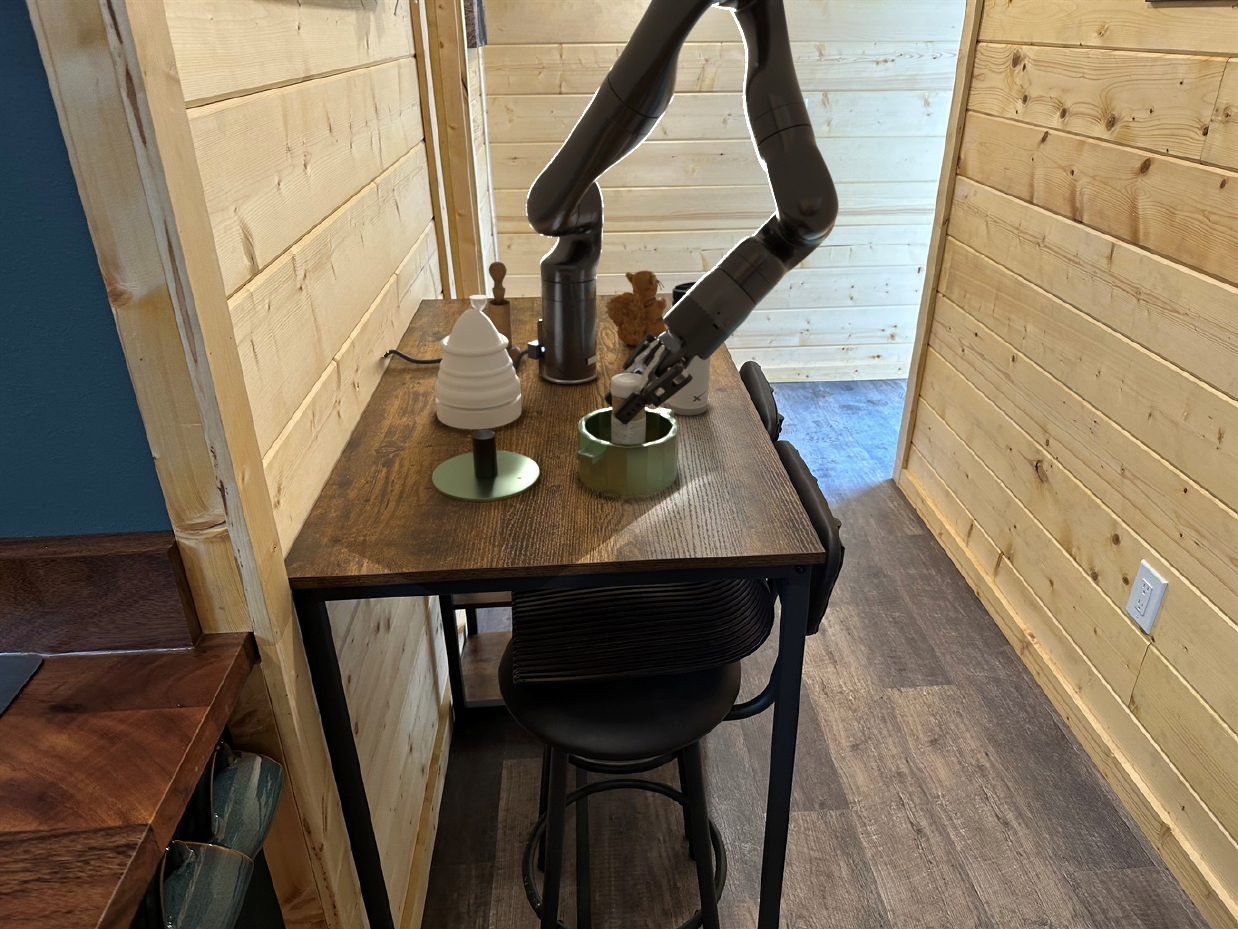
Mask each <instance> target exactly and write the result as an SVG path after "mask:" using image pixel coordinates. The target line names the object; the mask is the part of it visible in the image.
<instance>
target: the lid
mask: <svg viewBox="0 0 1238 929" xmlns="http://www.w3.org/2000/svg"><path fill="white" fill-rule="evenodd" d="M471 445H472V451H471V452H467V453H466V452H465V453H462V454H459V455H456V456H453V457H451V458H448V459H447V460H444V461H443V462H441V463H440V464H439V465H437V467H436V468H435V469H434V470H433V472H432V475H431V480H432V481H431V482H432V485H433V487H434V489H435V490H436V491H437V492H438V493H439V494H441V495H442V496H445V497H447V498H450V499H452V500H457V501H461V502H462V501H463V502H470V503H489V502H491V503H492V502H498V501H503V500H508V499H511V498H515V497H517V496H520V495H522V494H524V493H526V492H528V491H530V490H531V489H532V488H533V487H535V486H536V484H537V483H538V481H539V479H540V477H541V476H540V475H541V474H540V466H538V464H537V463H536V462H535V461H534V460H532V458H530V457H528V456H526V455H524V454H519V453H517V452H513V451H507V450H497V436H496V433H495V431H493V430H489V429H478V430H475V431H474V432H472V434H471Z"/></svg>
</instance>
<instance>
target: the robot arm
mask: <svg viewBox="0 0 1238 929" xmlns="http://www.w3.org/2000/svg"><path fill="white" fill-rule="evenodd" d="M711 7H715V8H719V9H724V10H729V11H730V13H731V14H732V16H733V17H734V20H735V22H736V24H737V26H738V29H739V31H740V34H741V36H742V41H743V44H744V49H745V50H744V51H745V62H746V63H745V74H744V82H743V93H742V94H743V96H742V98H743V109H744V115H745V119H746V123H747V127H748V129H749V133H750V135H751V140H752V143H753V146H754V149H755V152H756V155H757V158H758V161H759V163H760V165H761V167H762V169H763V170H764V171H765V172H766V174H767V178H768V182H769V185H770V189H771V193H772V196H773V199H774V202H775V207H776V211H775V212H774V213H773V214H772V215H771V216H770V218H769V219H768V220H766V221H765V223H764V224H762V225H761V227H760V228H758V229H757V231H755V233H754V234H752V235H749V236H746V237H744V238H743V239H741V240H740V241H739V242H738V243H737V244H735V246H734V247H732V249H730V250H729V251H728V252H727V254H726V255H724V256H723V258H722V259H721V260H720V261H719V262H718V263H717V264H716V266H714V267H713V268H712V269H711V270H709V271H708V272H706V274H704V275H703V276H702V277H701V278H700V279H698V281H696V282H697V283H696V284H695V285H694V286H693V287H692V288H691V289H690V290H689V291H688V292H687V293H686V294H685V295H684V297H683V298H682V299H681V300H680V301H679V302H678V303H677V304H676V305H675V306H674V307H673V308H672V307H671V309H670V310H669V311H668V312H667V313H666V314H665V315H664V316H663V321H664V323H665V326H667V328H668V327H669V329H668V330H667V331H665V332H664V333H663V334H661V335H660V336H659V337H658V338H656V337H655V336H654V335H653V334H652V333H648V334H647V335H646V336H645V337H644V338H643V340H642V341H641V342H640V343H639V345H638V346H635V348H634V350H633V351H632V352H631V354H630V355H629V357H628V358H627V359H626V360H625V361H624V362H623V364H622V366H621V368H622V369H623V370H624V371H623V372H622V373H635V374H640V375H642V376H643V380H642V382H641V383H640V384H639V386H638V387H637V388H636V390H635V392H634V393H635V394H634V393H633V392H632V393H631V394H630V396H629V397H628V398H627V399H626V400H625V401H624V402H623V403H622V404H621V405H620V406H619V407H618V408H617V409H616V410H615V411H614V416H615V417H616V418H617V419H618V420H619V421H620V422H621V423H622V424H624V425H626V424H628V423H629V422H630V421H631V420H632V419H633V418H634V417H635V416H636V415H637V414H638V413H639V412H640V411H641V410H642V409H643V408H644V407H645V408H646V406H651V405H652V406H653V407H654V408H659V407H661V405H663V404H664V403H666V402H667V401H668V399H669V398H670V397H671V396H673V395H674V394H675V393H677V392H678V391H679V390H680V389H682V388H683V387H684V386H686V385H687V384H688V383H689V382H690V381H691V380H692V378H693V376H692V375H691V374H690V373H689V372H688V371H687V367H688V366H689V364H690V363H691V361H692V360H693V358H694V357H695V356H698V357H699V358H700V359H702V360H707V359H708V358H709V357H710V358H711V356H713V354H714V353H715V352H716V351H717V350H718V349H719V348H720V347H721V346H722V345H723V344H724V343H725V342H726V341H727V340H728V339H729V338H730V336H732V335H733V334H734V333H735V332H736V331H737V330H738V329H739V327H741V325H743V323H744V322H745V321H746V320H747V319H748V317H749V316H750V315H751V313H752V312H753V311H754V309H755V308H756V307H757V306H758V305H759V304H760V303H761V302H762V301H764V299H765V298H766V297H767V296H768V295H770V293H771V292H772V291H773V290H774V289H775V288H776V287H777V286H778V284H779V283H780V282H781V281H782V280H783V278H784V277H785V276H786V275H787V274H788V273H790V272H791V271H792V270H793V269H795V268H796V267H797V266H798V265H799V264H801V263H802V262H803V261H804V260H805V259H807V258H808V257H809V256H810V255H811V254H812V253H814V251H816V250H817V249H818V248H819V247H820V246H821V245H822V244H823V243H824V242H825V241H826V239H828V237H829V236H830V235H831V233H832V231H833V230H834V227H835V223H836V221H837V217H838V215H839V209H840V208H839V205H840V204H839V203H840V202H839V197H838V193H837V190H836V186H835V183H834V181H833V178H832V177H833V176H832V175H831V173H830V170H829V168H828V166H827V164H826V161H825V159H824V157H823V155H822V152H821V151H820V149H819V146H818V144H817V141H816V136H815V132H814V128H813V125H812V121H811V118H810V115H809V111H808V109H807V108H808V107H807V105H806V103H805V100H804V96H803V93H802V90H801V87H800V83H799V80H798V74H797V72H796V68H795V63H794V58H793V54H792V52H793V51H792V46H791V42H790V35H789V28H788V22H787V15H786V10H785V4H784V0H650V2H649V5H648V6H647V8H646V10H645V12H644V14H643V15H642V18H641V19H640V21H639V22H638V24H637V26H636V27H635V29H634V30H633V32H632V34H631V36H630V38H629V40H628V41H627V43H626V44H625V46H624V48H623V50H622V51H621V53H620V55H619V56H618V58H617V59H616V60H615V62H614V64H613V65H612V66H611V68H610V69H609V71H608V72H607V74H606V76H605V77H604V79H603V81H602V82H601V84H600V85H599V87H598V89H597V90H596V92H595V94H594V96H593V98H592V100H591V101H590V103H589V104H588V105H587V107H586V109H585V110H584V112H583V114H582V116H580V119H579V120H578V122H577V123H576V125H575V126H574V128H573V129H572V131H571V133H570V134H569V136H568V138H567V139H566V140H565V142H564V144H563V145H562V146H561V148H560V149H559V150H558V152H557V153H555V155H554V157H553V158H552V159H551V161H550V162H548V164H547V165H546V166H545V168H544V169H543V170H542V171H541V173H540V174H539V175H538V176H537V178H536V179H535V181H534V182H533V183H532V185H531V187H530V189H529V192H528V195H527V198H526V205H525V206H526V208H525V209H526V210H525V212H526V218H527V221H528V224H529V226H530V227H531V228H532V230H533V231H534V232H535V233H537V234H538V235H540V236H543V237H546V238H558V239H557V242H556V243H555V245H554V246H553V248H551V250H550V251H549V252H548V253H547V254H545V255H544V256H543V257H542V259H541V260H540V263H539V276H540V278H539V281H540V283H539V284H540V308H541V309H540V310H541V319H539V320H537V322H536V330H537V333H536V334H537V339H535V340H533V341H531V342H527V343H526V344H527V348H525V349H523V350H522V351H520V354H519V355H518V356H517V359H516V362H515V364H514V365H512V366H513V367H514V369H515V370H516V369H518V368H519V366H520V364H521V362H522V359H523V357H524V356H526V355H527V359H531V360H534V361H538V363H537V364H538V365H537V366H538V375H539V376H542V378H543V379H544V380H546V381H548V382H549V383H554V384H559V385H581V384H586V383H589V382H592V381H593V380H595V379H596V378H597V377H598V369H597V368H598V367H597V366H598V364H597V363H598V351H597V350H598V347H597V344H598V342H597V340H598V338H597V337H598V336H597V335H598V334H597V333H598V331H597V330H598V329H597V328H598V327H597V326H598V325H597V324H598V322H597V320H598V319H597V318H598V317H597V316H598V314H597V310H598V308H597V300H598V299H597V296H598V295H597V273H598V272H597V269H598V265H599V263H600V261H601V257H602V251H603V250H602V248H603V230H604V202H603V195H602V191H601V188H600V186H599V184H598V182H597V181H596V180H597V179H599V177H601V176H602V175H603V174H604V173H605V172H607V171H608V170H609V169H610V168H612V167H613V166H615V165H617V163H619V162H620V161H621V160H623V159H624V158H626V157H627V156H628V155H629V154H631V153H632V152H633V151H634V150H635V149H637V148H638V147H639V146H640V145H641V144H642V143H643V142H644V141H645V140H646V139H647V137H649V135H650V134H651V133H652V131H653V130H654V128H655V127H656V126H657V124H658V123H659V122H660V120H661V119H662V117H663V116H664V114H665V113H666V112H667V110H668V108H669V106H670V104H671V102H672V101H673V98H674V95H675V91H676V85H677V79H678V68H679V59H680V54H681V51H682V48H683V46H684V43H685V42H686V40H687V38H688V36H689V35H690V33H691V32H692V30H693V29H694V27H695V26H696V25H697V24H698V22H699V20H700V19H701V18H702V16H703V15H704V14H705V13H706V11H708V10H709V9H710V8H711ZM388 350H389V353H387V351H385V352H386V354H385V355H384V357H383V358H388V357H389V356H391V355H396V356H398V357H399V358H402V359H403V360H406V361H407V362H409V363H412V364H416V365H434V364H440V363H441V361H442V359H443V357H440V358H432V359H417V358H413V357H411V356H409V355H407V354H405V353H403V351H399V350H398V349H388ZM520 361H521V362H520ZM603 399H604V401H605V403H606V404H607V405H608V406H610V407H612V393H611V389H609V391H608V392H607V393H606V394H605V395H604V397H603Z"/></svg>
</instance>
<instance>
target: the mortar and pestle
mask: <svg viewBox="0 0 1238 929" xmlns="http://www.w3.org/2000/svg"><path fill="white" fill-rule="evenodd" d="M507 270H508V269H507V266H506V265H505V264H504V262H502V261H493V262H492V263H491V264H490V265H489V267H488V274H489V275H490V277H491V279H492V281H493V287H492V288H491V291H492V295H493V298H494V299H491V300H489V301H487V303H488V318H489V319H490V321H491V322H492V324H493V325H494V327H495V328H496V330H497V332H498V334H501V335H503V336H505V337H506V338H507V340H508V346H507V348H506V350H507V353H508V355H509V357H510V358H511V360H512V362H513V364H512V365H514V364H515V362H516V359H517V356H518V355H519V354H520V353H521V348H519V346H517V345H516V344H514V343H513V324H512V322H513V321H512V302H511V300H509V299H505V295H506V287H504V284H503V282H504V279H505V278H506V275H507V273H508V272H507ZM521 362H522V360H521V361H520V363H521Z"/></svg>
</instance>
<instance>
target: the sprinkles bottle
mask: <svg viewBox="0 0 1238 929" xmlns="http://www.w3.org/2000/svg"><path fill="white" fill-rule="evenodd" d="M642 380H643V376H642V375H640V374H635V373H623V372H622V373H618V374H615V375H613V376H612V377H611V379H610V390H611V393H612V415H611V443H618V444H643V443H645V431H646V415H645V408H646V406H645V407H644V408H643V409H642V410H641V411H640V412H639V413H638V414H637V415H636V416H635V417H634V418H633V419H632V420H631V421H630V422H629V423H628V424H626V425H624V424H622V423H621V422H620V421H619V420H618V419H617V418H616V417H615V416H614V411H615V410H616V409H617V408H618V407H619V406H620V405H621V404H622V403H623V402H624V401H625V400H626V399H627V398H628V397H629V396H630V394H631V393H632V392H633V393H634V392H635V390H636V388H637V387H638V386H639V384H640V383H641V382H642ZM634 394H635V393H634Z"/></svg>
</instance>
